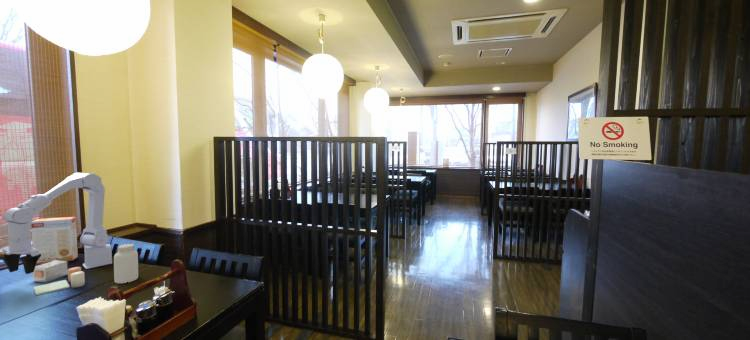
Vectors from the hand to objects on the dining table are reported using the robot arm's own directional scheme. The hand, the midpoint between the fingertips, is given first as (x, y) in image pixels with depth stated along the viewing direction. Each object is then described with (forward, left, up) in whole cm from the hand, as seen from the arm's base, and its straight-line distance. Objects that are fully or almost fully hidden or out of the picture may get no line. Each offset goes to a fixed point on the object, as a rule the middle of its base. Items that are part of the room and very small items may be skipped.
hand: (21, 272), depth 121 cm
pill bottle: (-28, +20, -7) cm, 35 cm away
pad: (-7, +8, -6) cm, 13 cm away
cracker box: (-12, -29, -7) cm, 32 cm away
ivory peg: (-14, +12, -6) cm, 20 cm away
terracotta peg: (-14, +5, -6) cm, 16 cm away
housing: (-8, -5, -6) cm, 11 cm away
